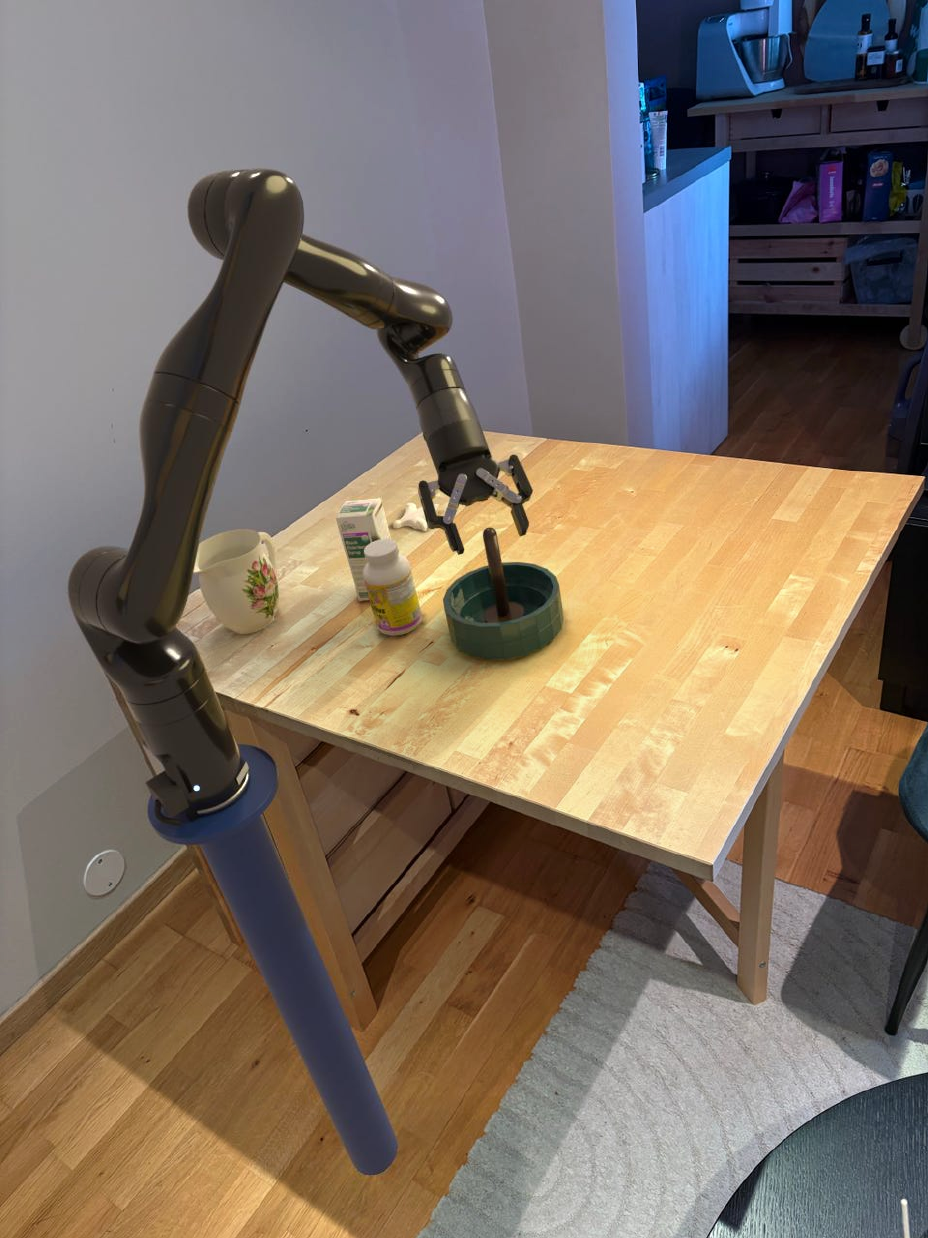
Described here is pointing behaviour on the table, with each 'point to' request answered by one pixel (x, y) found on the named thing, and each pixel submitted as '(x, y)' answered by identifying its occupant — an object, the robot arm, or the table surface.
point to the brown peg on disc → (498, 584)
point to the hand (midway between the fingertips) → (492, 543)
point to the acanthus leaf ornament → (413, 517)
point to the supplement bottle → (391, 588)
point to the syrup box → (361, 535)
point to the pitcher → (239, 579)
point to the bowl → (510, 637)
